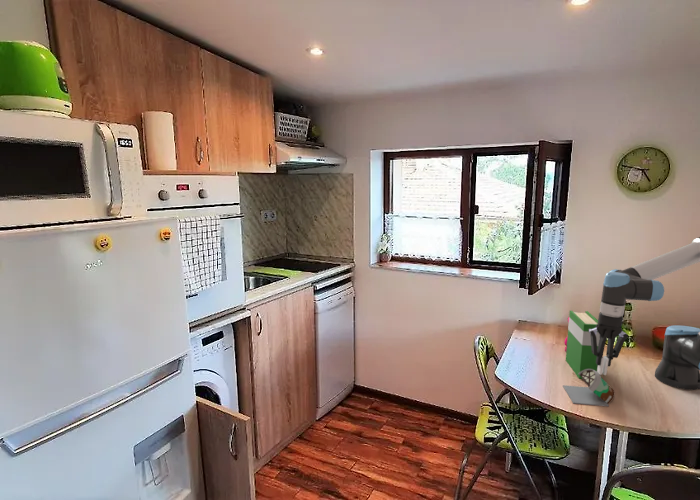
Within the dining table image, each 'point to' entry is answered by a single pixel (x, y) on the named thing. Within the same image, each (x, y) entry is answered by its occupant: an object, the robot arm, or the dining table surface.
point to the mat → (583, 396)
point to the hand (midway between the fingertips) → (601, 373)
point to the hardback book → (581, 342)
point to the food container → (597, 385)
